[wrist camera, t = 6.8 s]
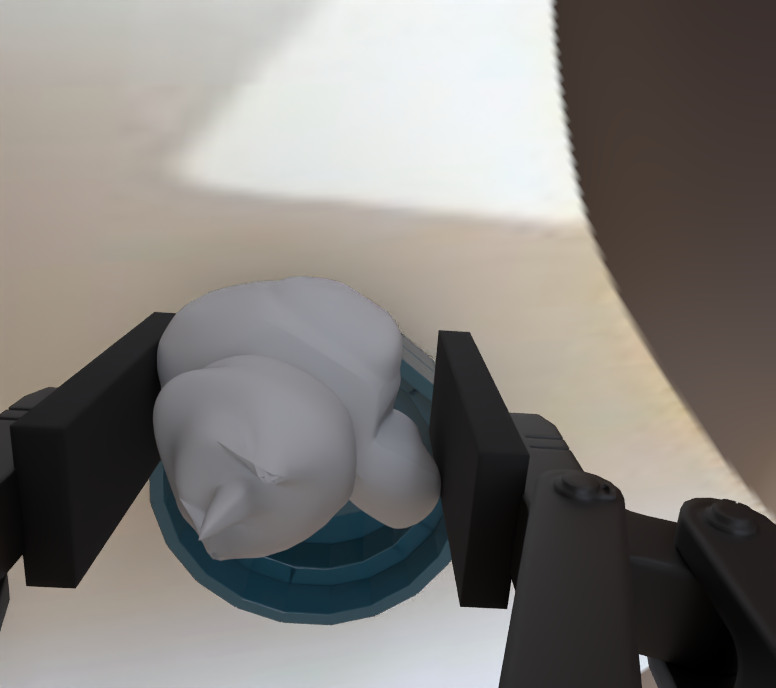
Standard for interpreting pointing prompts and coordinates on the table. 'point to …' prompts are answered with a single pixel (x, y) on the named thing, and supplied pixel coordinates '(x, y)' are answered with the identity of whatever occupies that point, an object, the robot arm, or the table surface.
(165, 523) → the bowl
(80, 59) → the table surface
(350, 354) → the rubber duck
